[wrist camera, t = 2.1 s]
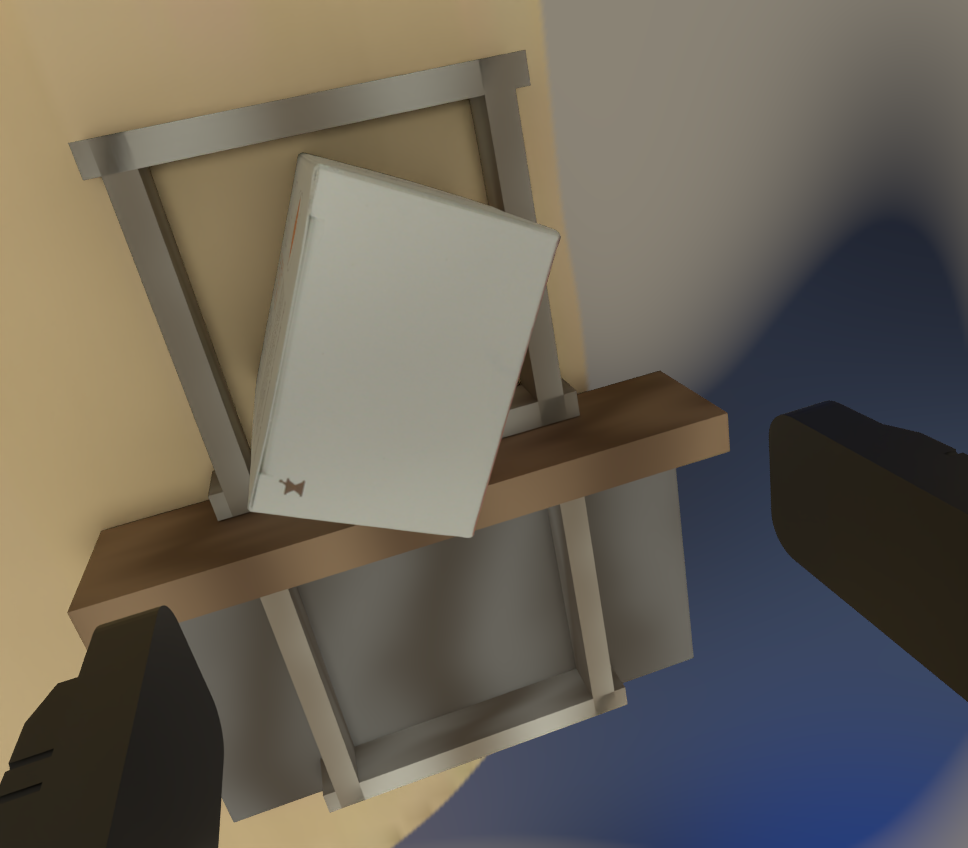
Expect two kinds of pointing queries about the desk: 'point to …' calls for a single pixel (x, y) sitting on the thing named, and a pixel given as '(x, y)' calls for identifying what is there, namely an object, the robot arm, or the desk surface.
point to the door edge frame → (396, 553)
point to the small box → (391, 351)
